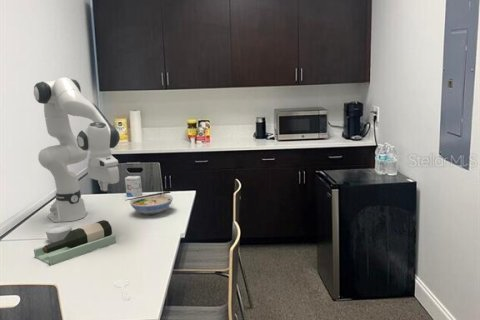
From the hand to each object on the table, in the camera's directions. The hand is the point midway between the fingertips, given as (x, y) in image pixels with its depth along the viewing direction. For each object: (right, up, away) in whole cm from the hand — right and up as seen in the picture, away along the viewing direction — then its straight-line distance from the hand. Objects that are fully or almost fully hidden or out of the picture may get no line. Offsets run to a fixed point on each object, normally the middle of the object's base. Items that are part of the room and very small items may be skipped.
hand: (104, 190), depth 210 cm
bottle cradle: (-10, -25, -7) cm, 28 cm away
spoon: (+20, -31, -46) cm, 59 cm away
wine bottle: (0, -18, +4) cm, 18 cm away
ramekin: (-22, -23, +7) cm, 33 cm away
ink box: (-4, -8, +77) cm, 78 cm away
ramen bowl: (+14, -15, +41) cm, 45 cm away
